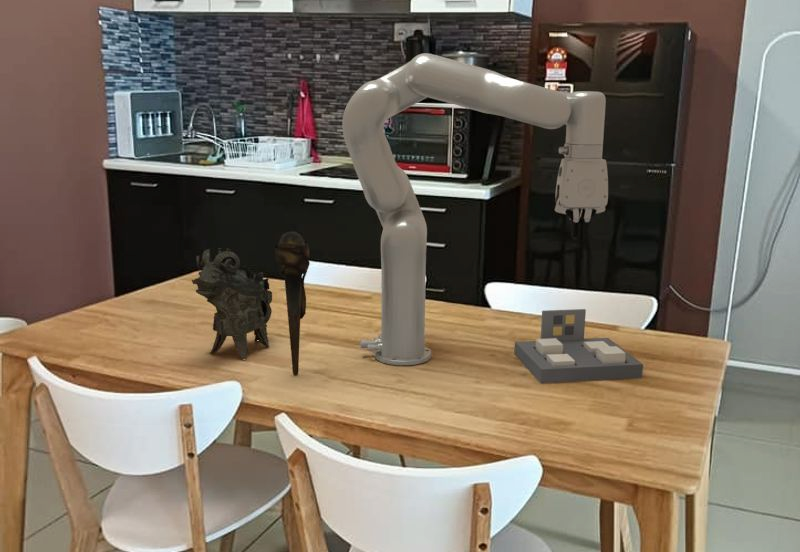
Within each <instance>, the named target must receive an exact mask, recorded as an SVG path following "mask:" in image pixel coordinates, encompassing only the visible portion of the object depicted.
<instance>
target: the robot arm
mask: <svg viewBox="0 0 800 552" xmlns="http://www.w3.org/2000/svg"><path fill="white" fill-rule="evenodd" d="M427 98H429V99H433V100H437V101H441V102H444V103H448V104H452V105H455V106H459V107H462V108H467V109H469V110H471V111H472V110H473V111H477V112H480V113H484V114H490V115H495V116H500V117H504V118H507V119H510V120H511V119H512V120H514V121H518V122H521V123H526V124H530V125H533V126H536V127H540V128H543V129H547V130H554V129H555V130H556V129H559V128H561V127H563V126H564V125H566V127H565V129H566V131H565V134H566V135H565V143H564V146H559V147H558V154H561V155H563V156H564V158H561V161H560V165H559V168H558V173H557V179H556V187H555V199H554V200H555V207H554V211H555V212H556V213H559V214H563V215H566V216H567V217H568V218H569V220H570V222H571V223H570V237H571V239H572V240H574V241H576V242H580V241H581V242H585V239H586V237H587V235H588V223H589V222H590V221H591V219H592V218H593V217H594V216H595V215H596V214H601V213H603V212H605V211H606V206H607V205H608V203H609V202H608V201H609V200H608V199H609V177H608V176H609V175H608V165H607V160H606V159H603V148H604V147H603V146H604V135H605V134H604V132H605V118H606V117H605V116H606V104H607V103H606V102H607V101H606V100H607V99H606V96H605V94H604V93H603V92H601V91H591V90H589V91H588V90H587V91H583V90H582V91H581V90H579V91H573V92H569V91H568V92H567V91H560V90H556V89H551V88H547V87H543V86H540V85H536V84H534V83H533V84H532V83H529V82H526V81H522V80H518V79H515V78H512V77H510V76H509V77H508V76H506V75H503V74H502V73H499V72H496V71H494V70H491V69H488V68H484V67H480V66H477V65H473V64H470V63H466V62H461V61H458V60H454V59H451V58H447V57H444V56H441V55H436V54H432V53H426V52H425V53H423V52H422V53H420V54H417V55H416V56H414V57H413V58H412V59H411V60H410V61H408V62H406V63H405V64H403V65H401V66H399V67H398V68H396V69H394V70H392V71H391V72H388V73H387V74H385V75H382V76H381V77H379V78H377V79H374V80H370V81H367V82H365V83H364V84H363V85H360V87H359V88H358V89H357V90H356V91H355V93H354V94H352V96H351V98H350V99H349V101H348V102H347V104H346V107H345V109H344V112H343V116H342V128H341V129H342V136H343V140H344V143H345V146H346V148H347V151H348V154H349V157H350V159H351V161H352V165H353V168H354V170H355V173H356V175H357V178H358V181H359V184H360V185H361V188H362V191H363V194H364V198H365V200H366V202H367V203H368V205H369V206H370V207H371V208H373V209H374V210H375V212H376V214H377V216H378V219H379V221H380V224H381V226H382V233H381V237H380V261H381V262H380V264H381V265H380V266H381V280H380V281H381V285H380V286H381V287H380V288H381V327H380V328H381V333H379V334H377V335H378V337H374V339H360V341H359V347H360V349H366V351H368V352H369V351H370V352H371V351H373V353H374V359H375V360H377V361H379V362H380V363H383V364H387V365H391V366H414V365H421V364H422V363H426V362H428V361H429V360H431V358H432V350H431V349H430V348H428V347H427V346H425V333H426V331H425V330H426V329H425V326H426V275H427V274H426V273H427V272H426V270H427V268H426V264H427V239H428V238H427V237H428V227H427V222H426V219H425V216H424V214H423V211H422V209H421V207H420V204H419V201H418V199H417V196H416V193H415V191H414V188H413V186H412V184H411V183H412V182H411V181H410V179H409V177H408V175H407V173H406V172H405V171H404V169H402V168H401V167H400V166H398V164H397V162H396V160H395V158H394V155H393V152H392V149H391V145H390V143H389V141H388V139H387V137H386V133H385V124H386V121H387V120H389V119H390V118H393V117H394V116H395V115H397V114H399V113H401V112H403V111H405V110H407V109H409V108H410V107H413V106H414V105H415V104H419V102H421V101H423V100H425V99H427ZM579 209H581V210H580V212H579Z"/></svg>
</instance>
